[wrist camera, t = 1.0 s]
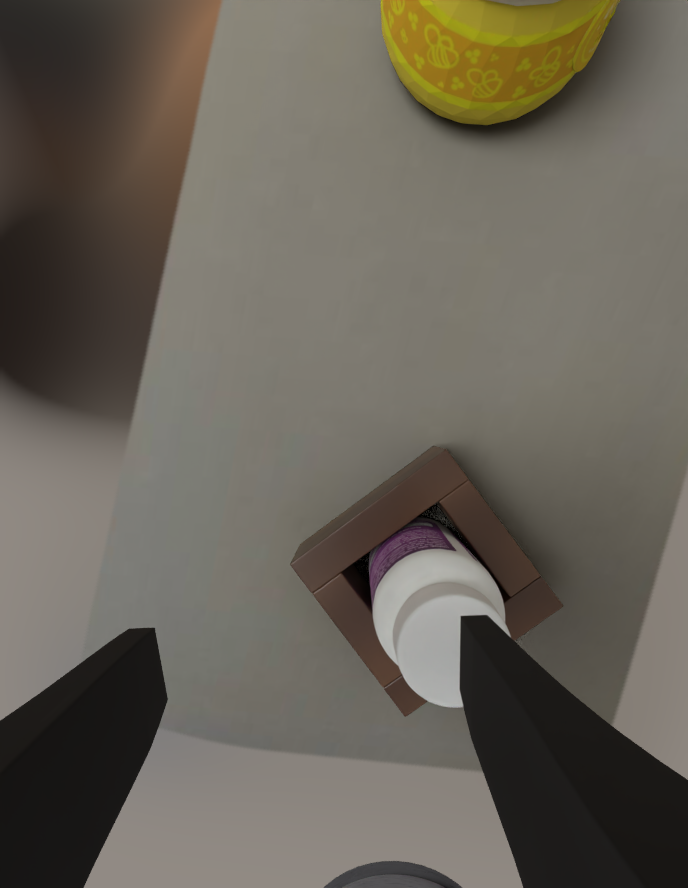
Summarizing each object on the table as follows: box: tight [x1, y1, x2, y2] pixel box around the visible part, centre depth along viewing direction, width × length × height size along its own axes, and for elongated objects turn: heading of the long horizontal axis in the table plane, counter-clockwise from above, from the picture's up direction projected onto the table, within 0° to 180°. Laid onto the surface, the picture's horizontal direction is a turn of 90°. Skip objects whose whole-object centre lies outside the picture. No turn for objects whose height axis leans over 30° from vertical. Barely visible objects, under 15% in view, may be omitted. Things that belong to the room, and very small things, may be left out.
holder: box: [290, 446, 563, 717], centre depth 22 cm, size 9×9×4 cm
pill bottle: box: [369, 517, 511, 708], centre depth 19 cm, size 5×5×10 cm
